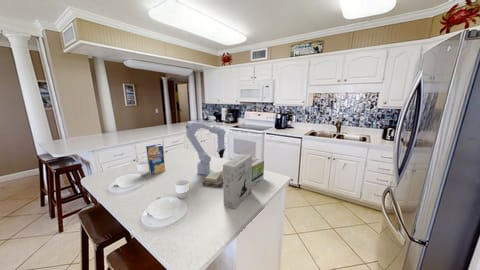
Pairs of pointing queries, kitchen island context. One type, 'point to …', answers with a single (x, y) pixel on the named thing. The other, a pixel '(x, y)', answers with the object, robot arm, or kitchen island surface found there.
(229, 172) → the cereal box
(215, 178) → the kraft carton
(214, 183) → the shallow grey tray
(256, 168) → the tea box
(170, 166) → the kitchen island surface
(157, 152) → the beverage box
